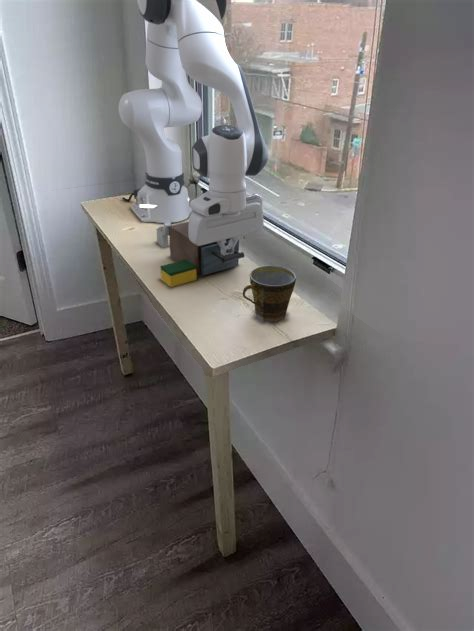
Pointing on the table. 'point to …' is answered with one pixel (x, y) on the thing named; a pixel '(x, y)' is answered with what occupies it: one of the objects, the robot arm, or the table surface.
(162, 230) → the lighter
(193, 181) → the plant with pod
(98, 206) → the table surface
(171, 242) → the cabinet
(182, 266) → the sponge
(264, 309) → the ceramic cup
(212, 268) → the drawer
